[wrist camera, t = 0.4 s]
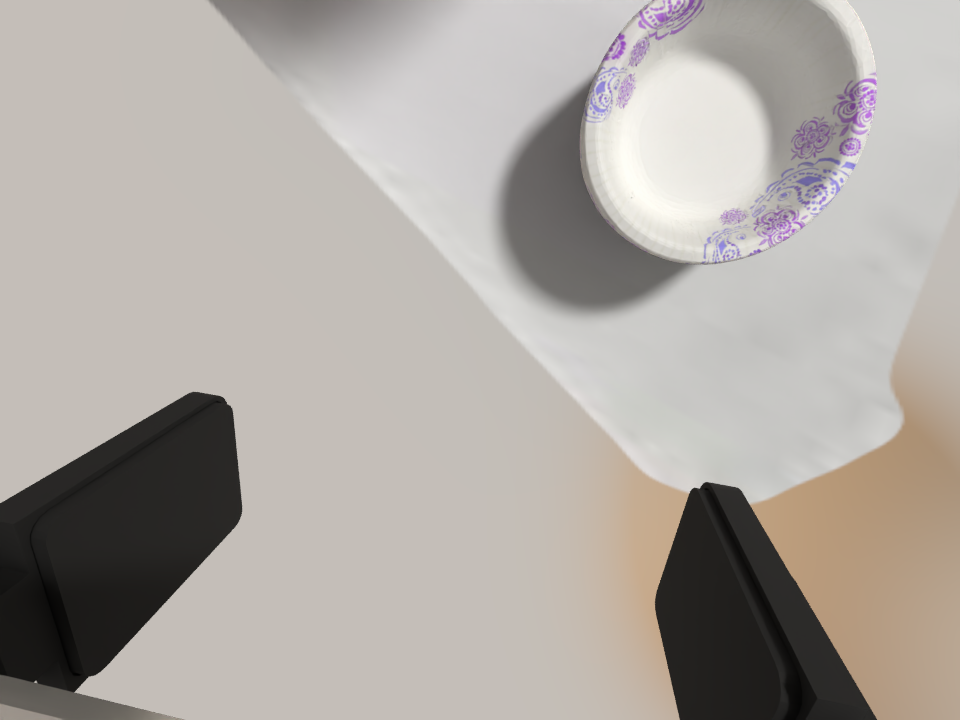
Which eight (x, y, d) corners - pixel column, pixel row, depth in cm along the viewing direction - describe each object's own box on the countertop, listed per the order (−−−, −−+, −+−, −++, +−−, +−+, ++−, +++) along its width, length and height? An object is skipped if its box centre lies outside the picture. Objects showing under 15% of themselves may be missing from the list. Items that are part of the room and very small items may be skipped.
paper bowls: (628, -23, 31) (650, -86, 23) (856, 50, 30) (952, 9, 23) (546, 212, 36) (543, 220, 29) (736, 276, 36) (782, 301, 29)
